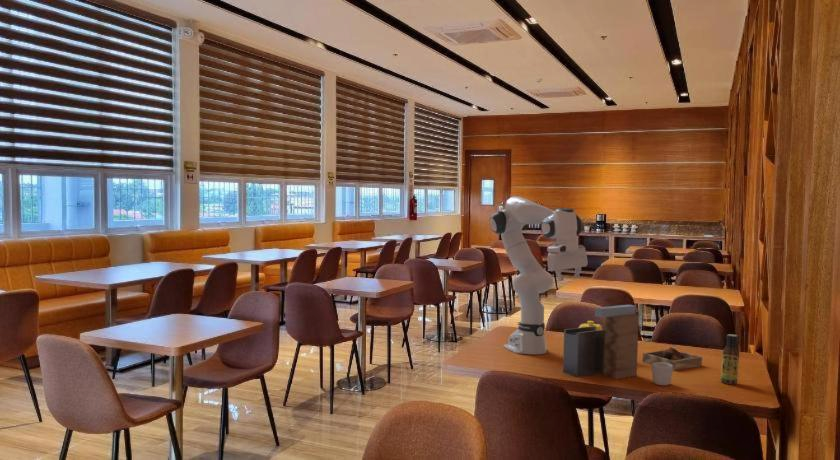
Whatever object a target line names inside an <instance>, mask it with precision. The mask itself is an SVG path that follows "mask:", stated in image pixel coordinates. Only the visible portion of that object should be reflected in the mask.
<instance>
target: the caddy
mask: <svg viewBox="0 0 840 460" xmlns="http://www.w3.org/2000/svg"><path fill="white" fill-rule="evenodd" d="M665 350H666V349H661V350H656V351H650V352H644V353H642V363H645V364H649V365H652V363H654V362H663V363H669V364H671V365H673V369H672V372H674V371H680V370H684V369H691V368H697V367H702V365H703V356H700V355H696V354H692V353H687V352H684V351H679V350H677V351H678V352H680V353H681V354H683V355H684V357H683V359H682V360H681V359H680V358H679V357H676V356H674V354H673V357H672V358H671V360H669V359H665V358H661V355H662V353H663V352H664V351H665Z"/></svg>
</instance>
